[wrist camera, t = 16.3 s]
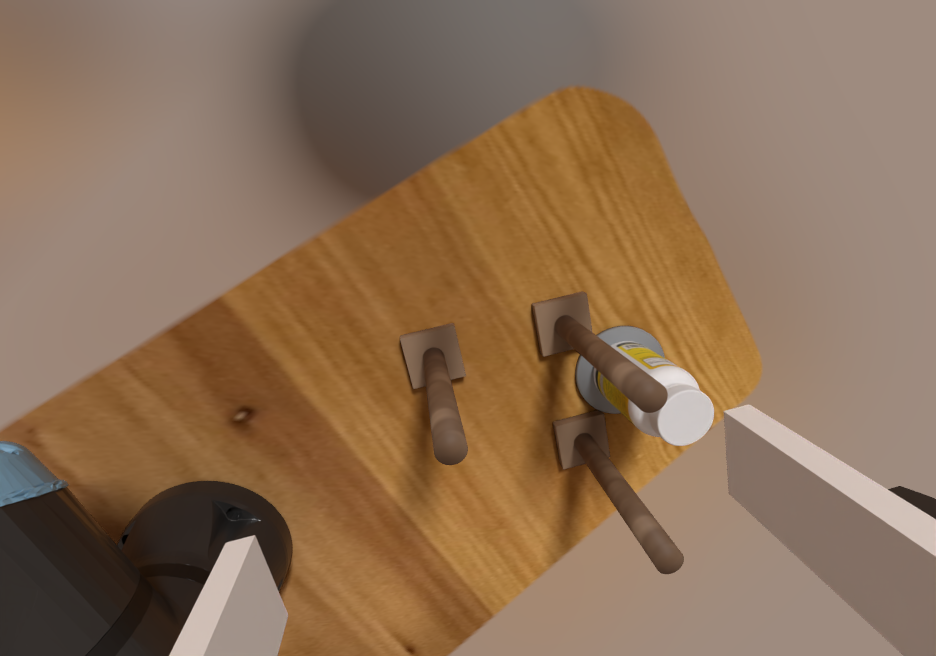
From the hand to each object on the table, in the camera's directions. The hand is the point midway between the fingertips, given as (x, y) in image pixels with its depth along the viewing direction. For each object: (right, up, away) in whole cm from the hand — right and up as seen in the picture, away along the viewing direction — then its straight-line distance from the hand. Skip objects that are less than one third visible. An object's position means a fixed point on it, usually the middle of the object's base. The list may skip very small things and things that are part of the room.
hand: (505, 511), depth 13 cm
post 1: (-4, +3, +32) cm, 32 cm away
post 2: (+10, -6, +36) cm, 38 cm away
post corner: (+8, +6, +33) cm, 34 cm away
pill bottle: (+14, +1, +34) cm, 37 cm away
